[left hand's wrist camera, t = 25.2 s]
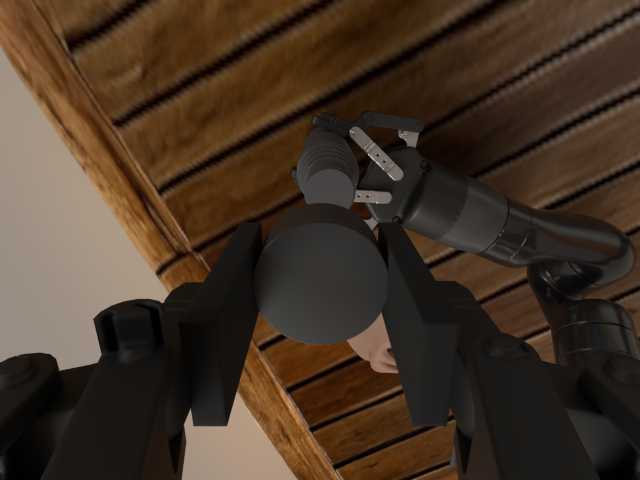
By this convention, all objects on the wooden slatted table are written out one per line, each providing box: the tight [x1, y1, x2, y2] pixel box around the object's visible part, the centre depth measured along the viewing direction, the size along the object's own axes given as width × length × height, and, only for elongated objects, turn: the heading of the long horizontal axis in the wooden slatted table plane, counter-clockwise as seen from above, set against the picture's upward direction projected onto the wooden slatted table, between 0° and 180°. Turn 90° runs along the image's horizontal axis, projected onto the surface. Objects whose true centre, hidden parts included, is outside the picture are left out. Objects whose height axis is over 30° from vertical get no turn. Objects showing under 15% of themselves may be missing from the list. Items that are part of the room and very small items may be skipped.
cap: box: [253, 203, 388, 345], centre depth 13 cm, size 4×4×2 cm
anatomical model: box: [347, 313, 398, 373], centre depth 52 cm, size 13×4×12 cm
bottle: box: [297, 127, 359, 209], centre depth 35 cm, size 5×5×23 cm
